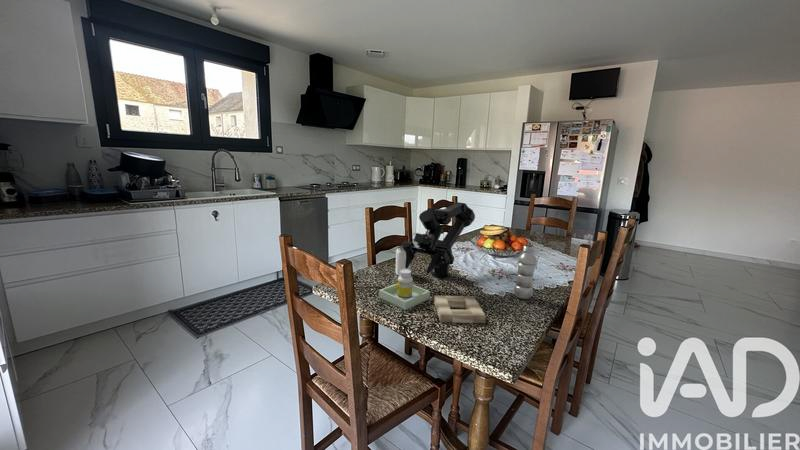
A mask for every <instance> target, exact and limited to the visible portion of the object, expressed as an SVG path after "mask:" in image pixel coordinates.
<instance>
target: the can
mask: <svg viewBox="0 0 800 450" xmlns="http://www.w3.org/2000/svg"><path fill="white" fill-rule="evenodd" d="M401 246H402V245H400V246H397V247H396V251H395V274H396V276H398V277H399V276H400V270H403V269H406V268H405V265H406V252H405V251H404V249H403V248H402V247H401ZM411 266H412V265H411V264H410V265H409V267H408V268H407V269H408V270H410V271H411Z"/></svg>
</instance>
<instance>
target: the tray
mask: <svg viewBox="0 0 800 450" xmlns="http://www.w3.org/2000/svg"><path fill="white" fill-rule="evenodd" d="M397 292H398V282H397V283H394V284H391V285H389V286H386V287H383V288H381V289H379V290H378V298H379V299H381V300H383V301H384V302H387V303H388V304H390V305H393V306H394V307H397V308H398V309H401V310H402V311H403V310H404V311H407V310H409V309H411V308H413V307H416V306H417V305H420V304H422V303H424V302H426V301H429V300H430V297H431V296H430V295H431V291H430V290H427V289H425V288H423V287H420V286H418V285H415V284H413V290H412V298H410V299H407V300H404V299H401V298H398V296H397Z"/></svg>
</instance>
